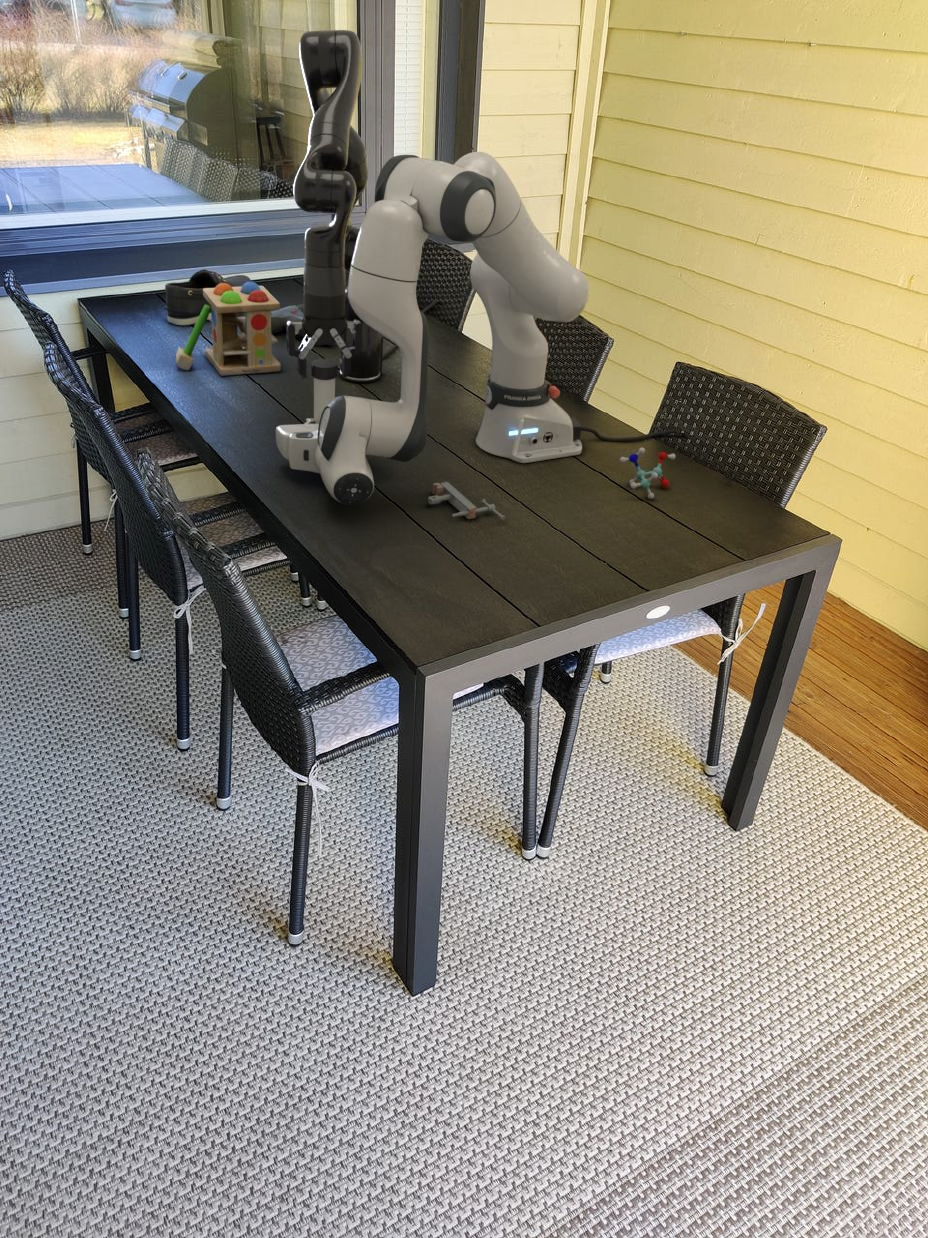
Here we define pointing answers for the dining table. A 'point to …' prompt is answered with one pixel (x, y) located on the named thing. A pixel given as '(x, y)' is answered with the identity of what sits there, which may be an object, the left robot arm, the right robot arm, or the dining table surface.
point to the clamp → (459, 501)
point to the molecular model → (641, 473)
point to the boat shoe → (194, 295)
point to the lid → (324, 369)
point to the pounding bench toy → (229, 347)
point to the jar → (322, 396)
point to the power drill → (287, 318)
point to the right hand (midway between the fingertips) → (323, 421)
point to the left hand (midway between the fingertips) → (324, 375)
